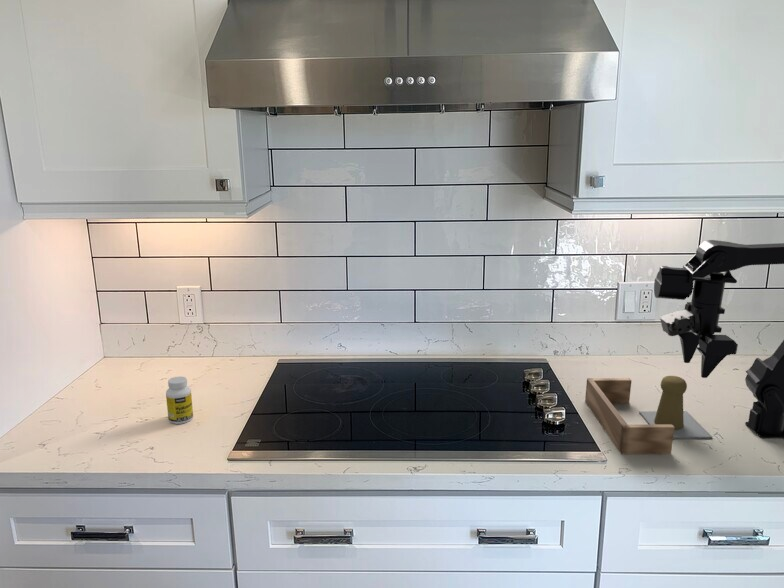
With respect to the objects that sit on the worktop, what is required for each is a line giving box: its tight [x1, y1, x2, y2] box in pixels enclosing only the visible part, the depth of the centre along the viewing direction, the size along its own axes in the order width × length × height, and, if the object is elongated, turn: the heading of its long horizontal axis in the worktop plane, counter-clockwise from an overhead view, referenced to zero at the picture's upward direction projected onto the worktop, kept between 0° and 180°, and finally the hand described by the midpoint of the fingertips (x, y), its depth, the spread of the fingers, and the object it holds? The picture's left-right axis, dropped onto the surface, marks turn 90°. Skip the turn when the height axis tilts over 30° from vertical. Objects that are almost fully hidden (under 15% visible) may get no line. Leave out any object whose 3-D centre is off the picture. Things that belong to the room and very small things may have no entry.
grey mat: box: [638, 410, 713, 440], centre depth 139 cm, size 11×12×1 cm
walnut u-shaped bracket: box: [584, 377, 675, 455], centre depth 138 cm, size 10×24×6 cm, turn 0°
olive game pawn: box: [654, 375, 688, 430], centre depth 137 cm, size 6×6×11 cm
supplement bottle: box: [165, 375, 194, 425], centre depth 141 cm, size 5×5×10 cm
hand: (695, 369), depth 136 cm, fingers open, 8 cm apart
